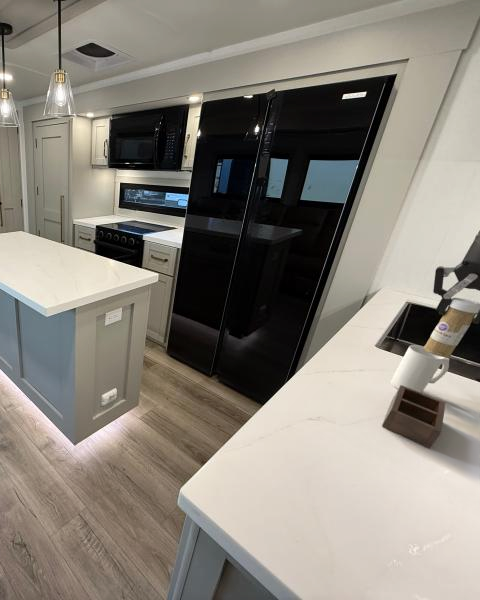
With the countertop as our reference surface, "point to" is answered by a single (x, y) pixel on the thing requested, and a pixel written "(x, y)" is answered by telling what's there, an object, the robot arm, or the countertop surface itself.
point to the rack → (415, 416)
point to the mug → (419, 369)
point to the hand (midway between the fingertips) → (457, 317)
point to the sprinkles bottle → (452, 326)
